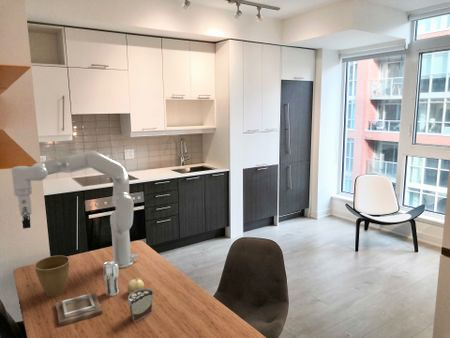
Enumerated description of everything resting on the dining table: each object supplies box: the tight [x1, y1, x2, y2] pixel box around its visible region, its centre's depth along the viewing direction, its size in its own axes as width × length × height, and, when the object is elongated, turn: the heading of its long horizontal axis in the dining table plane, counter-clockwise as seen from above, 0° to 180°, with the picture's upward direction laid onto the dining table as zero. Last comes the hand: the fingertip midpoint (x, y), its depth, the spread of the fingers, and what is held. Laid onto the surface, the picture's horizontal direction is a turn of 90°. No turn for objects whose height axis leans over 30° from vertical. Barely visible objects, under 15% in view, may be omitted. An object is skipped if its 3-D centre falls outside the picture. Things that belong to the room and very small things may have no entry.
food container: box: [127, 288, 155, 323], centre depth 147 cm, size 12×6×10 cm, turn 141°
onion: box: [126, 276, 145, 294], centre depth 165 cm, size 8×8×7 cm
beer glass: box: [102, 260, 120, 297], centre depth 164 cm, size 7×7×15 cm
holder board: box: [55, 292, 103, 327], centre depth 151 cm, size 17×17×3 cm
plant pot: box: [33, 255, 70, 298], centre depth 164 cm, size 15×15×16 cm
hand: (26, 225), depth 169 cm, fingers open, 9 cm apart
